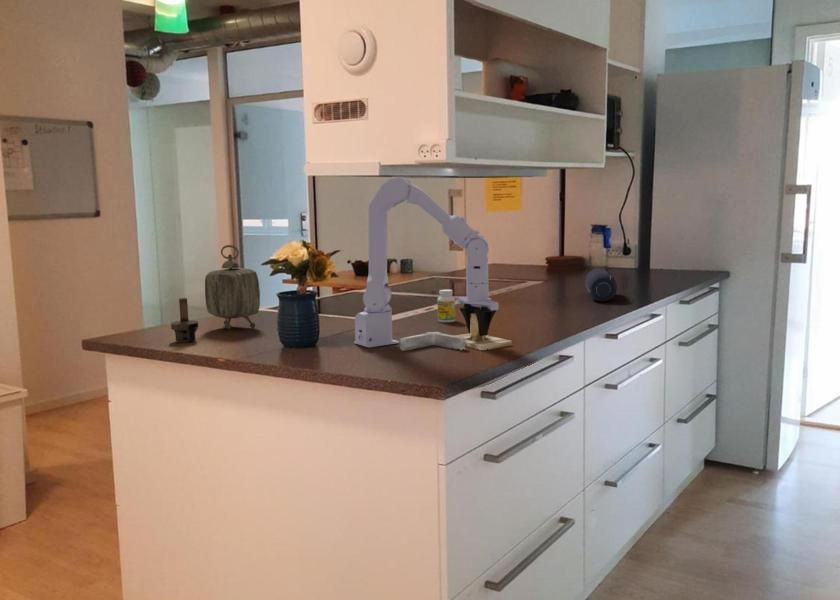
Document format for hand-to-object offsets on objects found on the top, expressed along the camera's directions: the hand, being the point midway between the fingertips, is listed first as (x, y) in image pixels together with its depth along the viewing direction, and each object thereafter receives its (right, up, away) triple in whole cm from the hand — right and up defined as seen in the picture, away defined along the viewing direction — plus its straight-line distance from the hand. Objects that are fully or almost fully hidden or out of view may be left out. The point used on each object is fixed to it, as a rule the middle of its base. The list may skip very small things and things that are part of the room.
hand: (477, 334), depth 203 cm
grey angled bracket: (-12, -3, -3) cm, 12 cm away
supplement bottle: (-7, +2, +35) cm, 36 cm away
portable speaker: (+50, +9, +78) cm, 93 cm away
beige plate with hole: (0, -2, 0) cm, 2 cm away
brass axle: (0, -2, 0) cm, 2 cm away
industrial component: (-81, -3, +12) cm, 81 cm away
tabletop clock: (-71, 0, +30) cm, 77 cm away
